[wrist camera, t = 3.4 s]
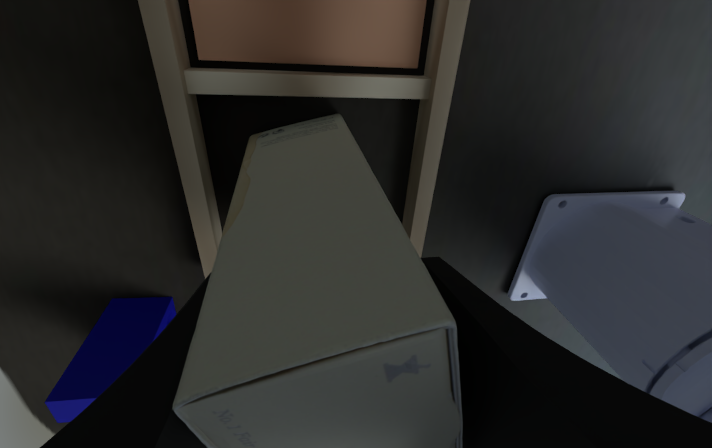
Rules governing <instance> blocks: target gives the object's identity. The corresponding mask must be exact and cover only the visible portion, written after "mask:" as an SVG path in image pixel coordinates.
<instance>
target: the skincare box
mask: <svg viewBox="0 0 712 448" xmlns="http://www.w3.org/2000/svg"><path fill="white" fill-rule="evenodd" d="M458 358H459V353H458V347H457V326H456V322H455V319H454V318H453V316H452V314H451V312H450V311H449V309H448V307H447V305H446V304H445V302H444V300H443V298H442V296H441V294H440V293H439V291H438V289H437V287H436V285H435V283H434V282H433V280H432V278H431V276H430V274H429V272H428V270H427V269H426V267H425V265H424V263H423V262H422V260H421V258H420V256H419V255H418V253H417V251H416V249H415V248H414V246H413V244H412V242H411V241H410V239H409V237H408V235H407V233H406V231H405V230H404V228H403V226H402V224H401V222H400V220H399V218H398V217H397V215H396V213H395V211H394V210H393V208H392V206H391V204H390V202H389V200H388V199H387V197H386V195H385V193H384V191H383V190H382V188H381V186H380V184H379V182H378V181H377V179H376V177H375V175H374V174H373V172H372V170H371V168H370V166H369V164H368V163H367V161H366V159H365V157H364V155H363V153H362V152H361V150H360V148H359V146H358V144H357V143H356V141H355V139H354V137H353V136H352V134H351V132H350V130H349V128H348V127H347V125H346V123H345V121H344V119H343V117H342V116H341V115H340V114H334V115H330V116H325V117H320V118H316V119H312V120H307V121H303V122H299V123H295V124H291V125H287V126H283V127H279V128H276V129H272V130H268V131H265V132H261V133H258V134H254V135H252V136H250V137H249V141H248V144H247V148H246V151H245V155H244V158H243V162H242V166H241V170H240V173H239V177H238V180H237V184H236V187H235V191H234V194H233V198H232V201H231V205H230V208H229V212H228V216H227V219H226V223H225V226H224V229H223V233H222V237H221V241H220V244H219V247H218V251H217V254H216V258H215V262H214V265H213V268H212V272H211V275H210V279H209V282H208V286H207V289H206V293H205V296H204V300H203V304H202V307H201V311H200V314H199V318H198V321H197V325H196V329H195V332H194V335H193V338H192V341H191V345H190V348H189V352H188V355H187V359H186V362H185V366H184V369H183V373H182V376H181V380H180V383H179V387H178V390H177V393H176V396H175V399H174V402H173V410H174V412H175V413H176V415H177V416H178V417H179V418H180V419H181V420H182V421H183V422H184V423H185V424H186V425H187V426H188V428H189V429H190V430H191V431H192V432H193V433H194V434H195V435H196V436H197V437H198V438H199V440H200V441H201V442H202V443H203V444H204V445H206V447H207V448H463V419H462V405H461V387H460V372H459V359H458Z"/></svg>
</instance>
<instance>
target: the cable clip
mask: <svg viewBox="0 0 712 448" xmlns="http://www.w3.org/2000/svg"><path fill="white" fill-rule="evenodd" d="M175 316H176V311H175V307H174V302H173V298H172V297H151V298H116V299H112V300H111V301H110V303H109V304H108V306H107V307H106V309H105V311H104V312H103V314H102V315H101V317H100V318H99V320H98V321H97V323H96V324H95V326H94V327H93V329H92V330H91V332H90V333H89V335H88V337H87V338H86V340H85V341H84V343H83V344H82V346H81V347H80V349H79V350H78V352H77V353H76V355H75V356H74V358H73V359H72V361H71V363H70V364H69V366H68V367H67V369H66V370H65V372H64V373H63V375H62V376H61V378H60V379H59V381H58V382H57V384H56V386H55V387H54V389H53V390H52V392H51V393H50V395H49V396H48V398H47V399H46V401H45V404H46V405H47V407H48V408H49V410H50V411H51V413H52V415H53V416H54V418H55V419H56V421H57V423H62V422H71V421H72V420H73V419H74V418H75V417H76V416H78V415H79V414H80V413H81V412H82V411H83V410H84V409H85V408H87V407H88V406H89V405H90V404H91V403H92V402H93V401H94V400H95V399H96V398H97V397H98V396H99V395H101V394H102V393H103V392H104V391H105V390H106V389H107V388H108V387H109V386H110V385H111V384H112V383H113V382H114V381H115V380H116V379H117V378H118V377H119V376H120V375H121V374H122V373H123V372H124V371H125V370H126V369H127V368H128V367H129V366H130V365H131V364H132V363H133V362H134V361H135V360H136V359H137V358H138V357H139V356H140V355H141V354H142V353H143V351H144V350H145V349H146V348H147V347H148V346H149V345H150V344H151V343H152V342H153V341H154V340H155V339H156V338H157V337H158V335H159V334H160V333H161V332H162V331H163V330H164V329H165V327H166V326H167V325H168V324H169V323H170V322H171V320H172V319H173V318H174V317H175Z"/></svg>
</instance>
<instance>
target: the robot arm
mask: <svg viewBox="0 0 712 448" xmlns="http://www.w3.org/2000/svg"><path fill="white" fill-rule="evenodd" d="M684 199H685V194H684V193H682V192H680V191H645V192H611V193H576V194H552V195H550V196H548V197H547V198H546V199H545V200H544V202H543V204H542V207H541V209H540V212H539V214H538V217H537V219H536V222H535V225H534V227H533V230H532V232H531V235H530V237H529V240H528V243H527V245H526V248H525V250H524V253H523V255H522V258H521V261H520V263H519V266H518V268H517V271H516V273H515V276H514V278H513V281H512V284H511V286H510V289H509V291H508V297H509V298H510V299H511V300H512V301H519V300H530V299H542V298H548V299H549V300H550V301H551V302H552V304H553V305H554V306H555V307H556V308H557V309H558V310H559V311H560V312H561V313H562V314H563V316H564V317H565V318H566V319H567V320H568V321H569V322H570V323H571V324H572V325H573V326H574V327H575V329H576V330H577V331H578V332H579V333H580V334H581V335H582V336H583V337H584V338H585V339H586V340H587V342H588V343H589V344H590V345H591V346H592V347H593V348H594V349H595V350H596V351H597V352H598V353H599V355H600V356H601V357H602V358H603V359H604V360H605V361H606V362H607V363H608V364H609V365H610V367H611V368H612V369H613V370H614V371H615V372H616V373H617V374H618V375H619V376H620V377H621V378H622V380H623V381H622V380H621V379H619V378H617V377H615V376H613V375H611V374H609V373H608V372H606V371H604V370H602V369H600V368H598V367H596V366H594V365H593V364H591V363H589V362H587V361H586V360H584V359H582V358H580V357H579V356H577V355H575V354H573V353H572V352H570V351H569V350H567V349H565V348H564V347H562V346H560V345H559V344H557V343H556V342H554V341H552V340H551V339H549V338H547V337H546V336H544V335H543V334H541V333H540V332H538V331H537V330H535V329H534V328H532V327H531V326H529V325H528V324H526V323H525V322H524V321H522V320H521V319H519V318H518V317H516V316H515V315H513V314H512V313H511V312H509V311H508V310H507V309H505V308H504V307H502V306H501V305H500V304H498V303H497V302H496V301H494V300H493V299H492V298H491V297H489V296H488V295H487V294H485V293H484V292H483V291H481V290H480V289H479V288H478V287H476V286H475V285H474V284H473V283H471V282H470V281H469V280H468V279H466V278H465V277H464V276H463V275H461V274H460V273H459V272H458V271H456V270H455V269H454V268H453V267H451V266H450V265H449V264H448V263H446V262H445V261H444V260H442V259H441V258H440V257H428V258H421V260H422V262H423V263H424V265H425V267H426V269H427V270H428V272H429V274H430V276H431V278H432V280H433V282H434V283H435V285H436V287H437V289H438V291H439V293H440V294H441V296H442V298H443V300H444V302H445V304H446V305H447V307H448V309H449V311H450V312H451V314H452V316H453V318H454V319H455V322H456V326H457V347H458V353H459V358H458V359H459V372H460V387H461V405H462V419H463V448H712V224H709V223H707V222H705V221H703V220H701V219H699V218H697V217H695V216H693V215H691V214H689V213H687V212H685V211H683V210H681V209H679V207H680V206H681V204H682V203H683V201H684ZM561 201H562V202H561ZM560 202H561V203H560ZM559 203H560V204H559ZM210 275H211V273H210V274H209V275H208V276H207V278H206V279H205V280H204V281H203V283H202V284H201V285H200V286H199V288H198V289H197V290H196V292H195V293H194V294H193V295H192V297H191V298H190V299H189V300H188V301H187V303H186V304H185V305H184V306H183V308H182V309H181V310H180V311H179V312H178V313H177V315H176V316H175V317H174V318H173V319H172V320H171V322H170V323H169V324H168V325H167V326H166V327H165V329H164V330H163V331H162V332H161V333H160V334H159V335H158V337H157V338H156V339H155V340H154V341H153V342H152V343H151V344H150V345H149V346H148V347H147V348H146V349H145V350H144V351H143V353H142V354H141V355H140V356H139V357H138V358H137V359H136V360H135V361H134V362H133V363H132V364H131V365H130V366H129V367H128V368H127V369H126V370H125V371H124V372H123V373H122V374H121V375H120V376H119V377H118V378H117V379H116V380H115V381H114V382H113V383H112V384H111V385H110V386H109V387H108V388H107V389H106V390H105V391H104V392H103V393H102V394H101V395H99V396H98V397H97V398H96V399H95V400H94V401H93V402H92V403H91V404H90V405H89V406H88V407H87V408H85V409H84V410H83V411H82V412H81V413H80V414H79V415H78V416H76V417H75V418H74V419H73V420H72V421H71V422H70V423H68V424H67V425H66V426H65V427H64V428H63V429H61V430H60V431H59V432H58V433H57V434H56V435H54V436H53V437H52V438H51V439H50V440H48V441H47V442H46V443H45V444H44V445H43V446H41V447H40V448H207V447H206V445H204V444H203V443H202V442H201V441H200V440H199V438H198V437H197V436H196V435H195V434H194V433H193V432H192V431H191V430H190V429H189V428H188V426H187V425H186V424H185V423H184V422H183V421H182V420H181V419H180V418H179V417H178V416H177V415H176V413H175V412H174V410H173V402H174V399H175V396H176V393H177V390H178V387H179V383H180V380H181V376H182V373H183V369H184V366H185V362H186V359H187V355H188V352H189V348H190V345H191V341H192V338H193V335H194V332H195V329H196V325H197V321H198V318H199V314H200V311H201V307H202V304H203V300H204V296H205V293H206V289H207V286H208V282H209V279H210Z"/></svg>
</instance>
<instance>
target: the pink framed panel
mask: <svg viewBox="0 0 712 448" xmlns="http://www.w3.org/2000/svg"><path fill="white" fill-rule="evenodd" d="M188 1H189V7H190V12H191V18H192V24H193V29H194V35H195V41H196V46H197V52H198V58H199V60H214V61H240V62H265V63H291V64H316V65H342V66H367V67H392V68H418V61H419V53H420V46H421V38H422V31H423V23H424V16H425V9H426V1H427V0H188ZM138 3H139V7H140V11H141V15H142V19H143V24H144V28H145V32H146V36H147V40H148V44H149V48H150V52H151V57H152V61H153V65H154V69H155V73H156V77H157V81H158V86H159V90H160V94H161V98H162V102H163V106H164V110H165V114H166V119H167V123H168V127H169V131H170V135H171V139H172V143H173V147H174V152H175V156H176V160H177V164H178V168H179V172H180V176H181V181H182V185H183V189H184V193H185V197H186V201H187V205H188V209H189V214H190V218H191V222H192V226H193V230H194V234H195V238H196V242H197V247H198V251H199V255H200V259H201V263H202V267H203V271H204V276H205V279H206V278H207V276H208V275H209V274H210V273H211V272H212V268H213V265H214V262H215V258H216V254H217V251H218V247H219V244H220V241H221V237H222V230H221V224H220V219H219V214H218V208H217V203H216V198H215V193H214V187H213V182H212V177H211V172H210V166H209V161H208V156H207V151H206V145H205V140H204V135H203V129H202V124H201V119H200V114H199V108H198V103H197V98H196V94H218V95H261V96H305V97H348V98H391V99H420V104H419V111H418V118H417V125H416V132H415V139H414V146H413V153H412V159H411V166H410V173H409V180H408V187H407V194H406V201H405V208H404V215H403V221H402V226H403V228H404V230H405V231H406V233H407V235H408V237H409V239H410V241H411V242H412V244H413V246H414V248H415V249H416V251H417V253H418V255H419V256H420V258H421V255H422V250H423V245H424V239H425V234H426V229H427V224H428V218H429V213H430V208H431V203H432V198H433V192H434V187H435V182H436V177H437V172H438V166H439V161H440V156H441V151H442V145H443V140H444V135H445V130H446V125H447V119H448V114H449V109H450V104H451V99H452V93H453V88H454V83H455V78H456V72H457V67H458V62H459V57H460V52H461V46H462V41H463V36H464V31H465V26H466V20H467V15H468V10H469V5H470V0H435V1H434V8H433V15H432V22H431V28H430V35H429V42H428V49H427V56H426V63H425V70H424V76H416V75H388V74H360V73H332V72H304V71H276V70H247V69H219V68H191V66H190V61H189V56H188V50H187V45H186V40H185V35H184V29H183V24H182V19H181V13H180V8H179V3H178V0H138Z"/></svg>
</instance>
